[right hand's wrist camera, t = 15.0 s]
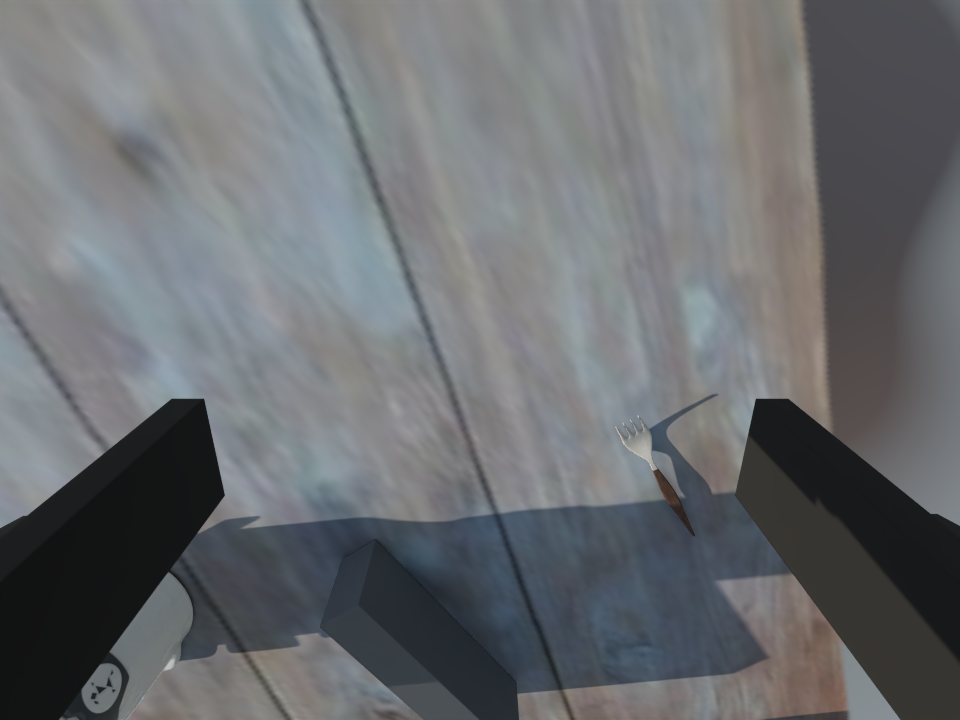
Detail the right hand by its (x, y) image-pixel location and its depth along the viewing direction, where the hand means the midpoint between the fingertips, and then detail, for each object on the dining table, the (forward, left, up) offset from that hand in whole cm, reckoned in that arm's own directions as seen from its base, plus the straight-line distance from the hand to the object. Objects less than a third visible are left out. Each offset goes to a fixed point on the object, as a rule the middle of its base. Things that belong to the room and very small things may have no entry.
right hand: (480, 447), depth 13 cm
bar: (+32, +26, -31) cm, 52 cm away
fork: (+4, +27, -31) cm, 42 cm away
